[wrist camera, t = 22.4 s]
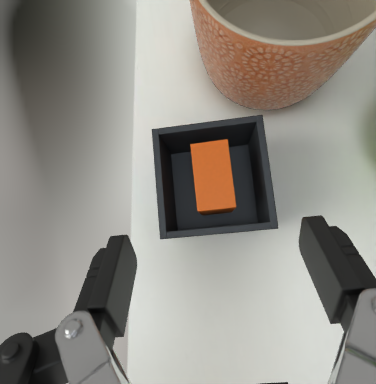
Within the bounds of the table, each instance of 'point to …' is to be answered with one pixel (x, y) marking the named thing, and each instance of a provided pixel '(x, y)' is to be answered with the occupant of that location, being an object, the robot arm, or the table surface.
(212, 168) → the block
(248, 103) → the planter
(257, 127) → the dark grey open box
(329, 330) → the table surface
